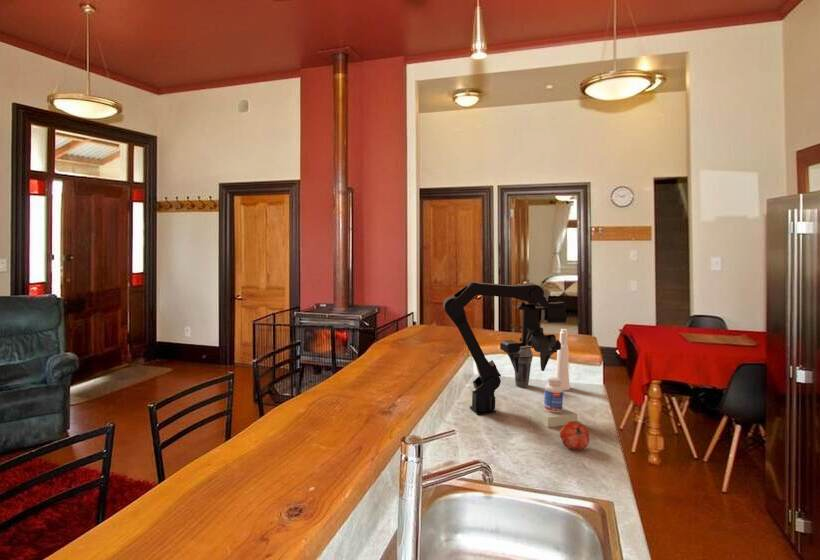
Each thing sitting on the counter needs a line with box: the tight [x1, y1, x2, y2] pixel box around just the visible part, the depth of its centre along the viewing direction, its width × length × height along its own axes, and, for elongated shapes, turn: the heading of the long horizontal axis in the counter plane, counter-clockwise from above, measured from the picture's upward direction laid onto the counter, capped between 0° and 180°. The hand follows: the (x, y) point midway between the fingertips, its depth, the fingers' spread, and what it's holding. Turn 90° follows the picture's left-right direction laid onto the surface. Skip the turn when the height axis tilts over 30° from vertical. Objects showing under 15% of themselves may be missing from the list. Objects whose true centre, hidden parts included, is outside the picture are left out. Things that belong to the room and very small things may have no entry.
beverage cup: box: [514, 348, 534, 389], centre depth 183 cm, size 7×7×20 cm
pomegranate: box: [559, 421, 590, 451], centre depth 131 cm, size 7×7×10 cm
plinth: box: [529, 403, 578, 428], centre depth 151 cm, size 10×10×3 cm
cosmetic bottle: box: [554, 328, 571, 391], centre depth 180 cm, size 6×6×22 cm
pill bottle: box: [543, 376, 564, 413], centre depth 150 cm, size 6×5×10 cm
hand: (529, 371), depth 156 cm, fingers open, 9 cm apart
